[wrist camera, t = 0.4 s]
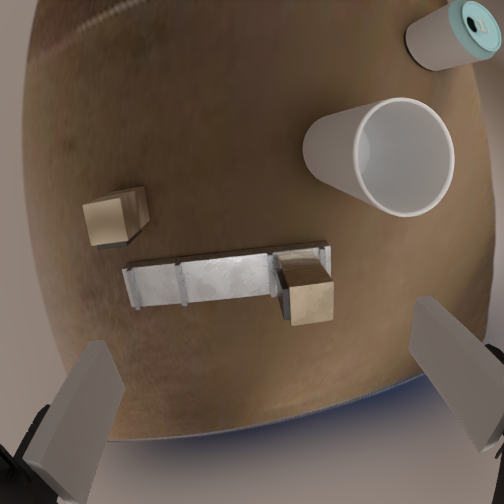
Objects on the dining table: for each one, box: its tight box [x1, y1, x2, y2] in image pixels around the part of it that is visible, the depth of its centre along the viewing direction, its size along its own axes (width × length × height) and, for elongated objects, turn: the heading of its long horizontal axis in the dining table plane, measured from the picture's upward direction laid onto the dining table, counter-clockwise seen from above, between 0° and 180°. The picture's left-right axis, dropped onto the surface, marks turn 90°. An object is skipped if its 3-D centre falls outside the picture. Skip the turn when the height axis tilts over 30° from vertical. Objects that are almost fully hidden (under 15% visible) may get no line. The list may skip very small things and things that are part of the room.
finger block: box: [83, 186, 150, 250], centre depth 31 cm, size 5×4×8 cm
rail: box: [122, 241, 334, 326], centre depth 33 cm, size 5×24×10 cm, turn 96°
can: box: [406, 0, 501, 71], centre depth 23 cm, size 7×7×12 cm
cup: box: [303, 98, 454, 217], centre depth 26 cm, size 8×8×16 cm
